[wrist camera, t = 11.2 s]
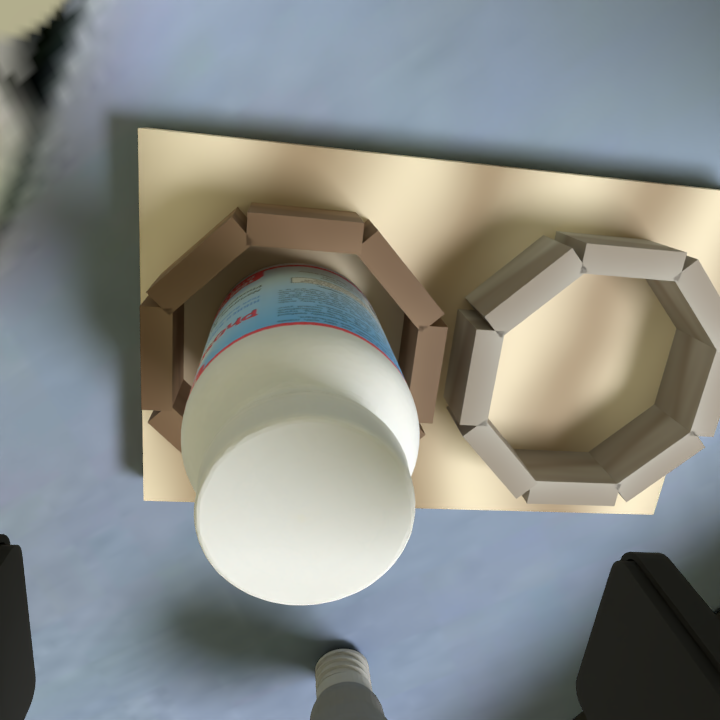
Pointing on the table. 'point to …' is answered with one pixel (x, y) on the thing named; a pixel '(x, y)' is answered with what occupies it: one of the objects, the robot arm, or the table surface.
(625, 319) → the holder board
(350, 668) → the light bulb
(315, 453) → the pill bottle
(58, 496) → the table surface
